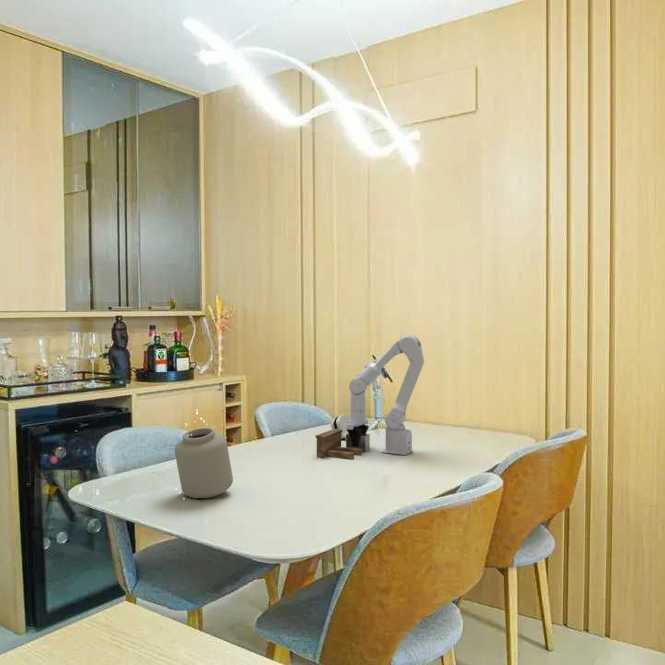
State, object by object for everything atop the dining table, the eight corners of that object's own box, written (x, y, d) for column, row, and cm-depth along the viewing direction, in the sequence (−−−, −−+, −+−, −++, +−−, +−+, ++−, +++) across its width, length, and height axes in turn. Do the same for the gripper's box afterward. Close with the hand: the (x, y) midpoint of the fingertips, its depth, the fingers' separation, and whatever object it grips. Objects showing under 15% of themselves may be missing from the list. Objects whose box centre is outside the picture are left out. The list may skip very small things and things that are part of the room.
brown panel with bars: (365, 453, 245) (365, 432, 244) (348, 461, 232) (348, 439, 231) (333, 449, 251) (333, 428, 250) (315, 457, 238) (315, 435, 237)
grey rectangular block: (369, 449, 250) (369, 434, 250) (365, 451, 247) (365, 435, 246) (350, 447, 254) (350, 432, 254) (345, 449, 250) (346, 434, 250)
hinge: (346, 440, 267) (338, 417, 267) (336, 444, 268) (328, 420, 269) (357, 433, 283) (350, 411, 283) (347, 436, 284) (340, 414, 285)
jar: (192, 508, 177) (192, 415, 176) (158, 498, 186) (157, 410, 185) (243, 492, 192) (243, 407, 191) (209, 484, 201) (209, 402, 200)
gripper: (356, 406, 258) (356, 441, 259) (339, 411, 245) (339, 448, 246) (373, 407, 255) (372, 442, 255) (357, 413, 242) (357, 449, 242)
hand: (357, 445), depth 250 cm, fingers closed on grey rectangular block, 4 cm apart
